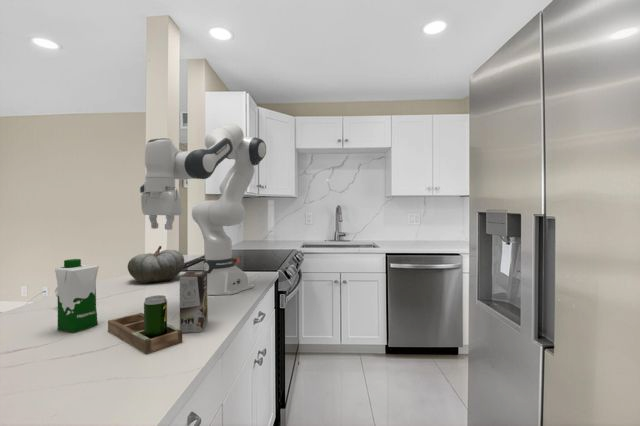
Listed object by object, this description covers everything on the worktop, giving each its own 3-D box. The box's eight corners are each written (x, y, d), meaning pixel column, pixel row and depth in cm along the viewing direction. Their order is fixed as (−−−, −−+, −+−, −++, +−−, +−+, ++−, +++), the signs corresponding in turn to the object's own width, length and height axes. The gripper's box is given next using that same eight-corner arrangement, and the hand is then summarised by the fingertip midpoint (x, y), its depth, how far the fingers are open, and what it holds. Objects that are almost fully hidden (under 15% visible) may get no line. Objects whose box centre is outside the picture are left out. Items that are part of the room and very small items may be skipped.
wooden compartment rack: (141, 322, 101) (141, 312, 101) (182, 341, 86) (182, 329, 86) (108, 330, 94) (107, 319, 94) (146, 354, 79) (146, 340, 79)
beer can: (145, 349, 81) (144, 301, 81) (143, 342, 86) (142, 297, 86) (168, 344, 84) (168, 298, 84) (165, 337, 89) (165, 294, 89)
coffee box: (202, 332, 93) (202, 275, 93) (179, 333, 92) (178, 276, 92) (208, 321, 102) (208, 269, 102) (186, 322, 101) (186, 270, 101)
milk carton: (82, 320, 102) (82, 257, 102) (103, 324, 99) (102, 259, 99) (51, 330, 94) (51, 261, 94) (72, 334, 91) (72, 263, 91)
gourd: (195, 274, 162) (188, 240, 161) (142, 292, 144) (133, 254, 143) (175, 273, 179) (168, 242, 178) (125, 288, 162) (117, 254, 161)
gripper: (186, 186, 104) (187, 229, 104) (155, 188, 116) (156, 227, 117) (166, 185, 99) (167, 231, 99) (137, 188, 111) (138, 228, 112)
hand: (161, 229), depth 108 cm, fingers open, 8 cm apart
